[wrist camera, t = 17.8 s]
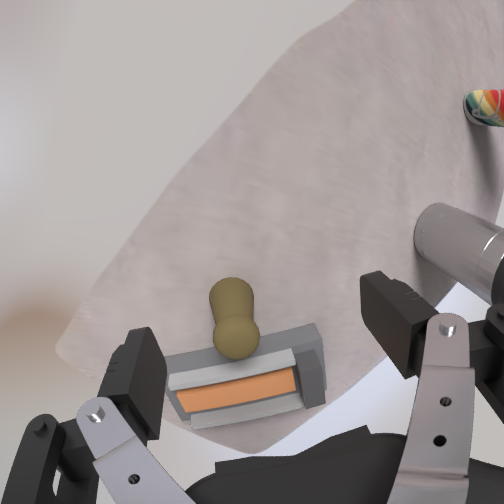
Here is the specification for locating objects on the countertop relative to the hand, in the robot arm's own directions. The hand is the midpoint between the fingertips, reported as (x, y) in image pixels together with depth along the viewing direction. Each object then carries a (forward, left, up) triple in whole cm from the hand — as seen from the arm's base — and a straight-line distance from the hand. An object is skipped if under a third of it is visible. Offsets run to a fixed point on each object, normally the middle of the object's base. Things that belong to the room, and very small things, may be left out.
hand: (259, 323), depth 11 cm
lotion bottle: (-41, -7, -28) cm, 50 cm away
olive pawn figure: (+3, +14, -28) cm, 32 cm away
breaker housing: (+4, +27, -28) cm, 39 cm away
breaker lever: (+6, +27, -24) cm, 36 cm away
